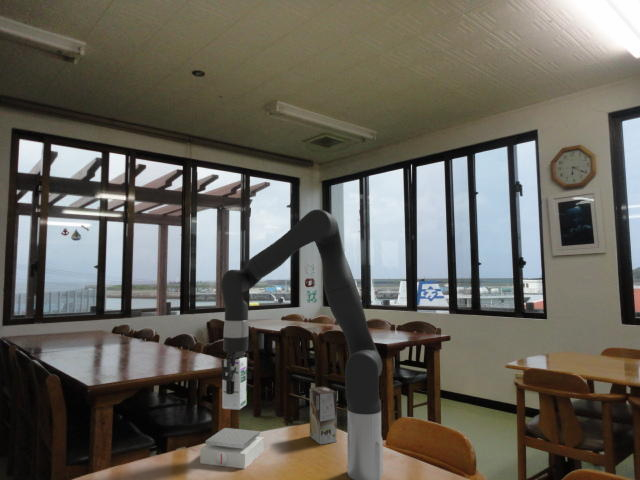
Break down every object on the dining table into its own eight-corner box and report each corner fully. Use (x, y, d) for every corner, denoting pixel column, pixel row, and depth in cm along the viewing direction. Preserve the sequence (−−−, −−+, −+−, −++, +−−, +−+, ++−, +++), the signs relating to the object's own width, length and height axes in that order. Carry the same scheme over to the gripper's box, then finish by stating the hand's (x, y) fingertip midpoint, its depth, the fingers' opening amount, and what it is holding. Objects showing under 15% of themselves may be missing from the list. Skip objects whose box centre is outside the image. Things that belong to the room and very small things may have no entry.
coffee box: (337, 442, 147) (337, 391, 148) (319, 445, 144) (320, 393, 146) (325, 433, 155) (325, 385, 157) (308, 436, 153) (308, 387, 154)
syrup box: (240, 410, 132) (241, 359, 134) (221, 408, 133) (222, 359, 135) (246, 404, 138) (247, 356, 139) (228, 403, 139) (229, 355, 140)
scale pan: (259, 434, 139) (259, 431, 139) (243, 448, 127) (243, 444, 128) (224, 431, 142) (224, 427, 142) (205, 444, 131) (205, 440, 131)
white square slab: (263, 450, 139) (264, 437, 140) (243, 469, 125) (244, 454, 125) (222, 446, 143) (223, 433, 143) (198, 464, 129) (199, 449, 129)
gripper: (237, 338, 130) (235, 398, 128) (256, 332, 144) (255, 386, 142) (213, 337, 132) (212, 396, 130) (235, 332, 145) (234, 385, 144)
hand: (234, 391), depth 136 cm, fingers closed on syrup box, 6 cm apart
